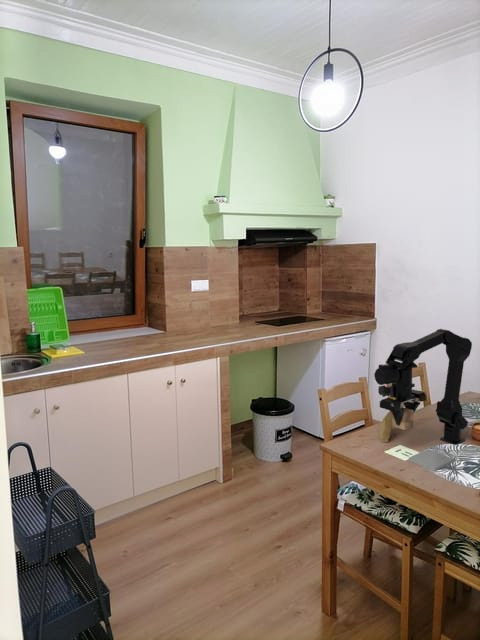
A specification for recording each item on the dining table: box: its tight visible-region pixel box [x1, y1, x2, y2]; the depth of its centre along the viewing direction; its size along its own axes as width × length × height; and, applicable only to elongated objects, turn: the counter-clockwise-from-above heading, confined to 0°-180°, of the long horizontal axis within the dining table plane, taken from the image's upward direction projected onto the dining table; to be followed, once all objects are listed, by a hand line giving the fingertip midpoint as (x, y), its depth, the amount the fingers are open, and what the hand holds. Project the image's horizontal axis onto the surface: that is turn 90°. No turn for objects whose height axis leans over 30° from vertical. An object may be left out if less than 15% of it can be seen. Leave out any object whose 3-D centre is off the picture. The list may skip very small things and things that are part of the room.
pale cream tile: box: [384, 444, 421, 462], centre depth 164 cm, size 9×9×1 cm
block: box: [392, 406, 415, 431], centre depth 162 cm, size 5×5×6 cm
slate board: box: [408, 448, 455, 472], centre depth 157 cm, size 11×10×1 cm
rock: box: [378, 410, 393, 443], centre depth 177 cm, size 11×9×10 cm
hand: (402, 423), depth 162 cm, fingers closed on block, 5 cm apart
